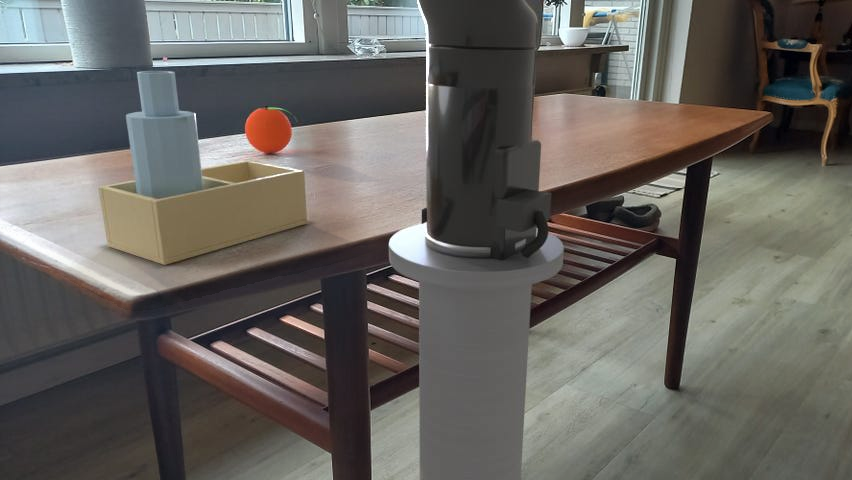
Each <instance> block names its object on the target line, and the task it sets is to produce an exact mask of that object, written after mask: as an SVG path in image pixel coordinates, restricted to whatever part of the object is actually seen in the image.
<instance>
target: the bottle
mask: <svg viewBox="0 0 852 480" xmlns="http://www.w3.org/2000/svg"><path fill="white" fill-rule="evenodd" d="M136 77H137V83H138V84H137V86H138V92H139V98H140V107H141V111H135V112H130V113H127V114H125V121H126V127H127V134H128V142H129V149H130V156H131V161H132V169H133V176H134V180H135V183H136V190H137V194H139V195H143V196H147V197H151V198H155V199H162V198H167V197H171V196H176V195H181V194H186V193H191V192H196V191H201V190H204V188H203V179H202V170H201V169H202V162H201V153H200V152H201V151H200V142H199V135H198V124H197V117H196V112H192V111H187V110H180V106H179V98H178V89H177V80H176V72H175V71H172V70H169V71H168V70H144V71H143V70H141V71H137V72H136Z"/></svg>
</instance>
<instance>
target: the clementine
mask: <svg viewBox="0 0 852 480" xmlns="http://www.w3.org/2000/svg"><path fill="white" fill-rule="evenodd" d="M282 111H285V112H287V113H289V114H291V112H290V111H288V110H286V109H284V108H280V107H269V106H268V105H266V106H264V107H261V108H260V107H259V108H257V109H255V110H254V111H253V112H251V113H250V114H249V116H248V117H247V119H246V122H245V124H244V132H245V137H246V140H247V141H248V143H249V144H250V145H251V146H252V148H254V149H255V150H257V151H259V152H262V153H264V154H276V153H278V152H280V151H282V150H284V149H285V148H286V147H287V146H288V145H289V143H290V142H291V139H292V136H293V129H292V125H291V122H290V120H289V118H288V117H287V115H285V113H284V112H282ZM294 120H295V121H296V123H298V120H297V118H296V117H294Z"/></svg>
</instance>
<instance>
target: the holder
mask: <svg viewBox="0 0 852 480" xmlns="http://www.w3.org/2000/svg"><path fill="white" fill-rule="evenodd" d="M201 170H202V179H203V188H204V190H201V191H196V192H191V193H186V194H181V195H176V196H171V197H167V198H162V199H155V198H151V197H147V196H143V195H139V194H137V190H136V183H135V179H134V180H128V181H123V182H116V183H112V184H106V185H100V186H98V187H97V188H98V195H99V200H100V208H101V212H102V219H103V225H104V230H105V237H106V243H107V247H108V248H111V249H114V250H118V251H121V252H124V253H126V254H129V255H132V256H136V257H139V258H141V259H145V260H147V261H150V262H154V263H156V264H159V265H163V266H166V265H170V264H173V263H176V262H181V261H183V260H186V259H190V258H193V257H197V256H200V255H204V254H207V253H211V252H215V251H218V250H222V249H224V248H227V247H233V246H234V245H239V244H241V243H245V242H249V241H252V240H256V239H259V238H262V237H266V236H270V235H272V234H276V233H280V232H283V231H286V230H290V229H294V228H297V227H300V226H303V225H307V224H308V213H307V212H308V211H307V195H306V179H305V170H302V169H296V168H291V167H286V166H280V165H275V164H270V163H264V162H260V161H259V162H258V161H255V160H254V161H253V160H249V159H248V160H242V161H236V162H231V163H225V164H220V165H219V164H218V165H214V166H208V167H201Z"/></svg>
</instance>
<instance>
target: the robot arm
mask: <svg viewBox="0 0 852 480" xmlns="http://www.w3.org/2000/svg"><path fill="white" fill-rule="evenodd" d="M417 4H418V8H419V11H420V13H421V16H422V19H423V21H424V24H425V25H424V26H425V33H426V95H425V96H426V100H425V101H426V106H425V107H426V109H425V110H426V111H425V113H426V120H425V121H426V123H425V124H426V127H425V130H426V131H425V133H426V135H425V136H426V137H425V139H426V141H425V142H426V143H425V144H426V145H425V146H426V147H425V148H426V151H425V152H426V153H425V155H426V157H425V159H426V160H425V163H426V164H425V169H426V170H425V175H426V176H425V190H426V191H425V196H426V197H425V201H426V202H425V205H426V207H424V208H422V209H421V224H423V223H426V230H425V243H426V245H427V246H428V247H429V248H431V249H432V250H435V251H437V252H440V253H443V254H447V255H451V256H457V257H464V258H491V259H496V260H505V259H507V258H509V257H511V256H513V255H515V254H517V253H519V252H521V254H522V255H523V256H524V257H526V258H529V257H530V256H531V255H532V254H533V253H535V252H536V251H537V250H539V249H540V248H541V247H542V246H543V244H544V243H545V242H546V240H547V237H548V232H549V229H550V228H549V224H548V221H550V220H551V208H552V207H551V206H552V193H551V192H548V191H541V190H539V189H540V172H541V157H542V156H541V155H542V143H541V141H540V140H539V139H535V138H534V139H533V129H534V128H533V127H534V112H535V111H534V109H535V90H536V89H535V88H536V71H537V53H538V48H537V47H538V37H539V35H538V34H539V20H538V16H537V14H536V12H535V10H534V9H532V7H531V6H530V5H529V4H528V3H527V1H525V0H417ZM536 228H537V229H538V233H537V236H536ZM549 233H550V232H549Z"/></svg>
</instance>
